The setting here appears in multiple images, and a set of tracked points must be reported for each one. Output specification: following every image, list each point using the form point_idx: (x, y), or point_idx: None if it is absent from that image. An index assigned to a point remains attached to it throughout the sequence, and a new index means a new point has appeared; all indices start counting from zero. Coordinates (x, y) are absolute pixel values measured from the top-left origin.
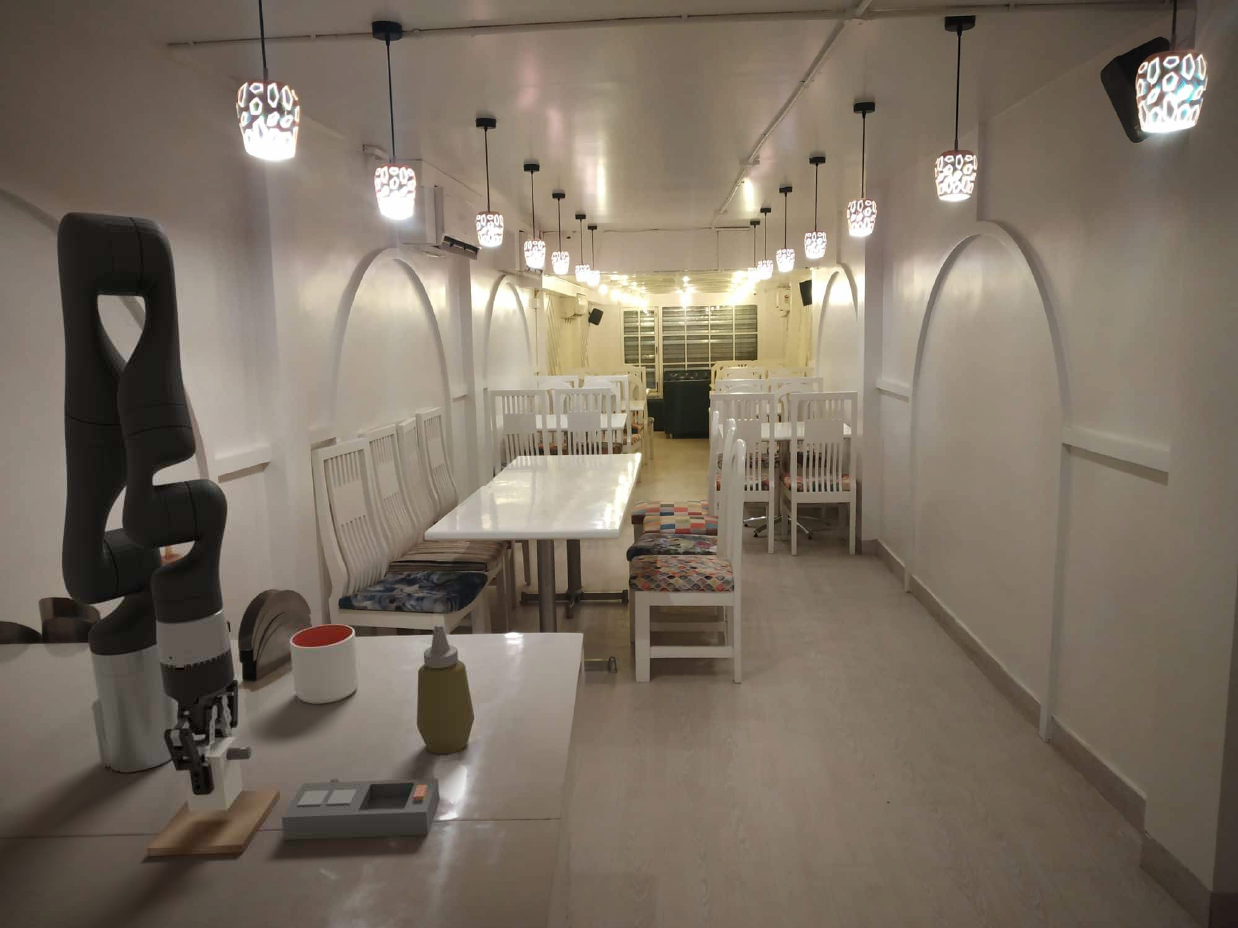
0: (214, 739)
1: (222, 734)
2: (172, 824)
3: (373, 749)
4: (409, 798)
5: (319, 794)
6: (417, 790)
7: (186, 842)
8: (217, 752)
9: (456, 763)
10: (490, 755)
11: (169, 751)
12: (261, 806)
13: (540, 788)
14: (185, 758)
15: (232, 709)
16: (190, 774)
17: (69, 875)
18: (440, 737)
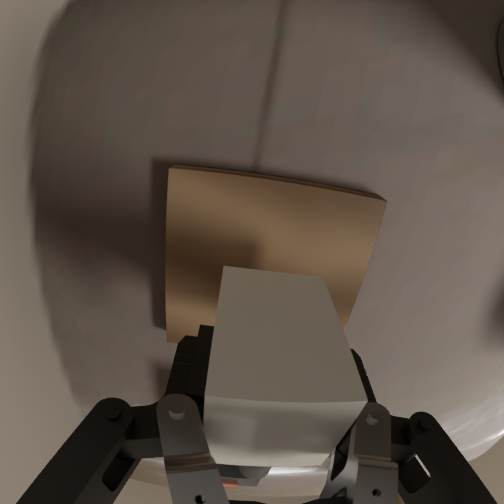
0: (331, 436)
1: (343, 451)
2: (258, 191)
3: (399, 411)
4: (221, 476)
5: None
6: (226, 484)
7: (179, 247)
8: (227, 457)
9: (321, 466)
10: (323, 477)
11: (43, 470)
12: None
13: (254, 493)
14: (138, 438)
15: (403, 495)
16: (168, 383)
17: (137, 29)
18: None
